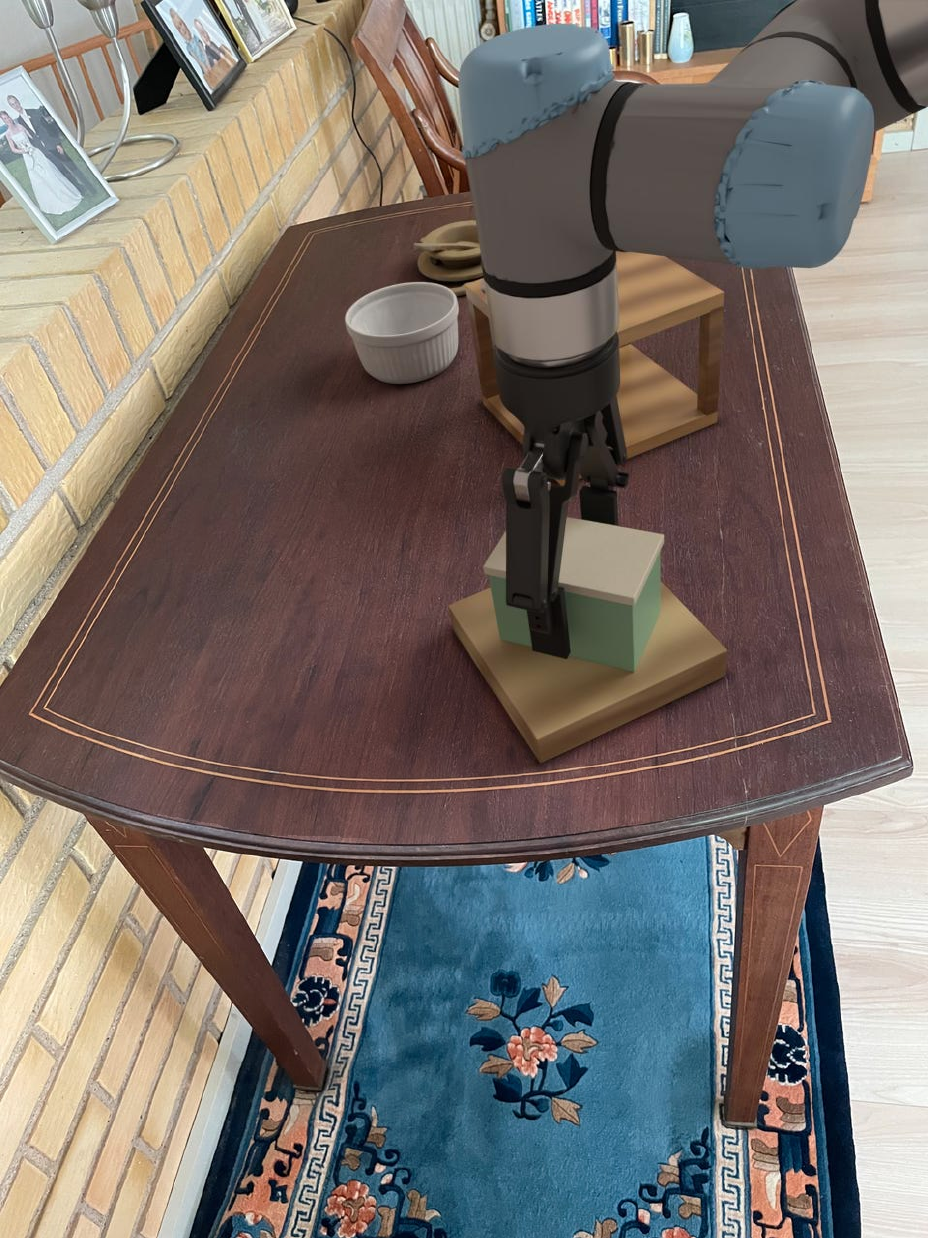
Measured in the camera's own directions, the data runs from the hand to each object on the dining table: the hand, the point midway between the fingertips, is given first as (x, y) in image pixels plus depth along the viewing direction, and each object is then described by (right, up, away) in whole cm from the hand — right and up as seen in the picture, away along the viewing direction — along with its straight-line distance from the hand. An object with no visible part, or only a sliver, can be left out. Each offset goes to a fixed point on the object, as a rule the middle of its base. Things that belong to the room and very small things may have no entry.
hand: (577, 601), depth 70 cm
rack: (+5, +21, +27) cm, 35 cm away
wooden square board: (+1, -4, +4) cm, 6 cm away
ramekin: (-15, +30, +41) cm, 53 cm away
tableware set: (0, +49, +57) cm, 75 cm away
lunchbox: (0, -2, +2) cm, 3 cm away
